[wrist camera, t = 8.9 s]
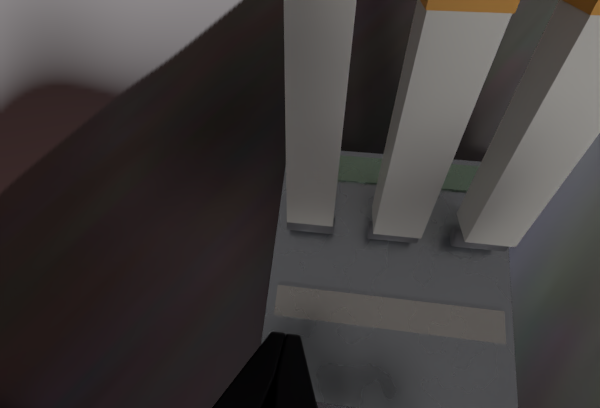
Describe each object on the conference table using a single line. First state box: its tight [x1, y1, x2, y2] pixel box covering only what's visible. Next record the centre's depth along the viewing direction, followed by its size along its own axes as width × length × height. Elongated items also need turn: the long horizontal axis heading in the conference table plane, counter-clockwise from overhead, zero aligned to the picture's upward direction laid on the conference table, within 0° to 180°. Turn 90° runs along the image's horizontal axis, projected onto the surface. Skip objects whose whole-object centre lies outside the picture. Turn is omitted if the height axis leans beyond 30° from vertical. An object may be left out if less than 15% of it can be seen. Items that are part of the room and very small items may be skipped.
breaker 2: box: [450, 0, 600, 252], centre depth 13 cm, size 2×3×13 cm
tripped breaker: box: [284, 0, 356, 234], centre depth 14 cm, size 2×3×13 cm
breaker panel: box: [261, 151, 518, 408], centre depth 19 cm, size 14×13×2 cm
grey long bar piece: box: [367, 0, 520, 243], centre depth 14 cm, size 2×3×13 cm
